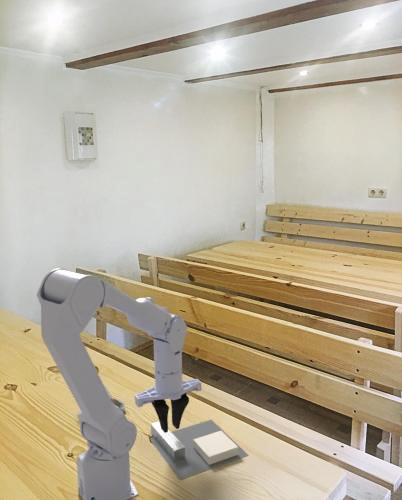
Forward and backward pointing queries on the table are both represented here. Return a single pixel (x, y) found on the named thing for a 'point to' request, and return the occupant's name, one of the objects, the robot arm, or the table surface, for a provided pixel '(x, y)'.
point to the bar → (168, 442)
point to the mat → (193, 459)
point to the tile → (215, 447)
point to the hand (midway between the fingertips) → (170, 428)
